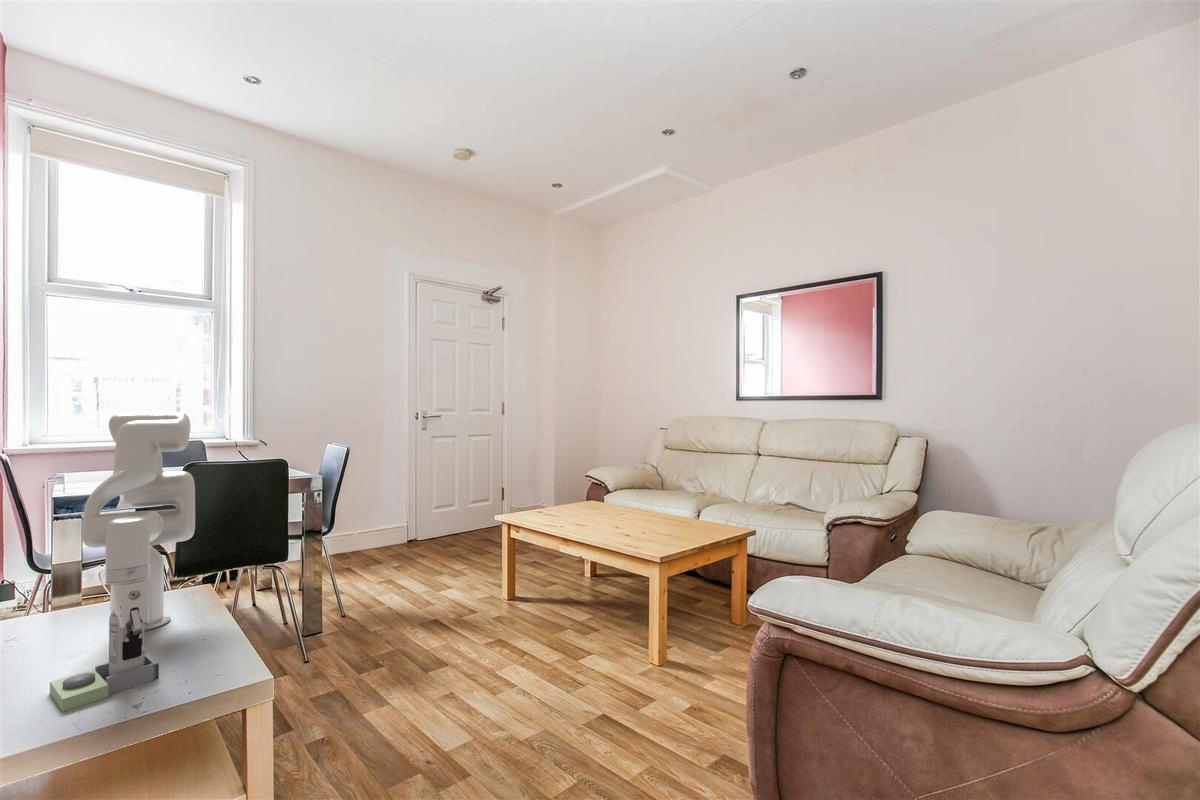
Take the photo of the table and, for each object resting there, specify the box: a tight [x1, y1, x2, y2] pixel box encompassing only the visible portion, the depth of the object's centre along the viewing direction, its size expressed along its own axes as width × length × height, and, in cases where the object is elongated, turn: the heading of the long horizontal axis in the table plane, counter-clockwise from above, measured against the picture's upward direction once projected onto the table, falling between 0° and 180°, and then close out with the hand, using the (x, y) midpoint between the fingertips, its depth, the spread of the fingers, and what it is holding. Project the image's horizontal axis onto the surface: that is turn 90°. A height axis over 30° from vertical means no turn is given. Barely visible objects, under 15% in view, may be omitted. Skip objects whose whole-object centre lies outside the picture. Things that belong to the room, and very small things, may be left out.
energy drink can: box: [108, 610, 146, 676], centre depth 122 cm, size 6×6×15 cm
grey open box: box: [49, 651, 160, 713], centre depth 119 cm, size 12×16×4 cm
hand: (127, 653), depth 122 cm, fingers closed on energy drink can, 6 cm apart
